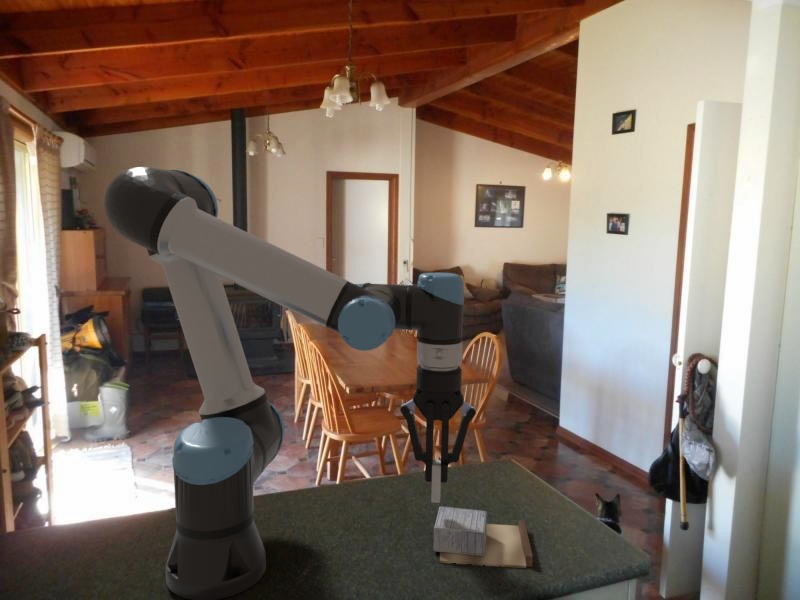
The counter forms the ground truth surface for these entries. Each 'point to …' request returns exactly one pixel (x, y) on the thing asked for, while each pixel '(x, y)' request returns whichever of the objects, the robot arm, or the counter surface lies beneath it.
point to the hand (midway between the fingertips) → (435, 498)
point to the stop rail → (525, 543)
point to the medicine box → (460, 531)
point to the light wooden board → (494, 549)
